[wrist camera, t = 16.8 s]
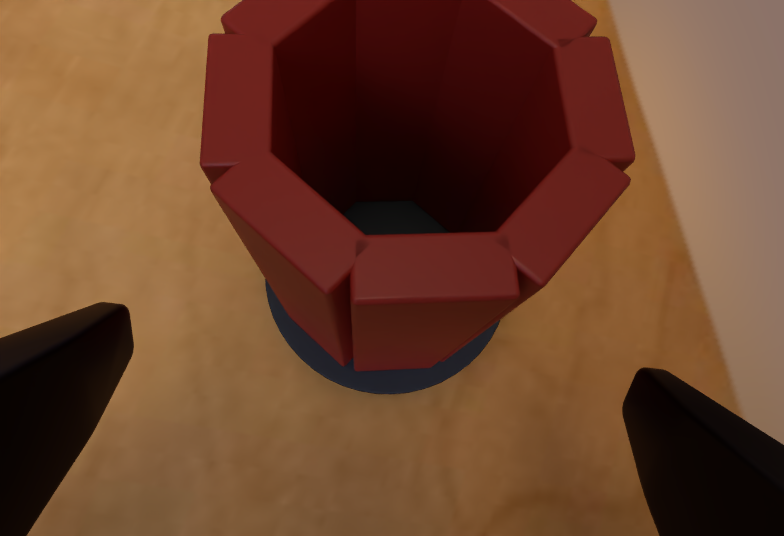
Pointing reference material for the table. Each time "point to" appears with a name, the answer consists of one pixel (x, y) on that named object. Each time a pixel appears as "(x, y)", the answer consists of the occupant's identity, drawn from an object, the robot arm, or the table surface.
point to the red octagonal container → (411, 159)
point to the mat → (371, 222)
